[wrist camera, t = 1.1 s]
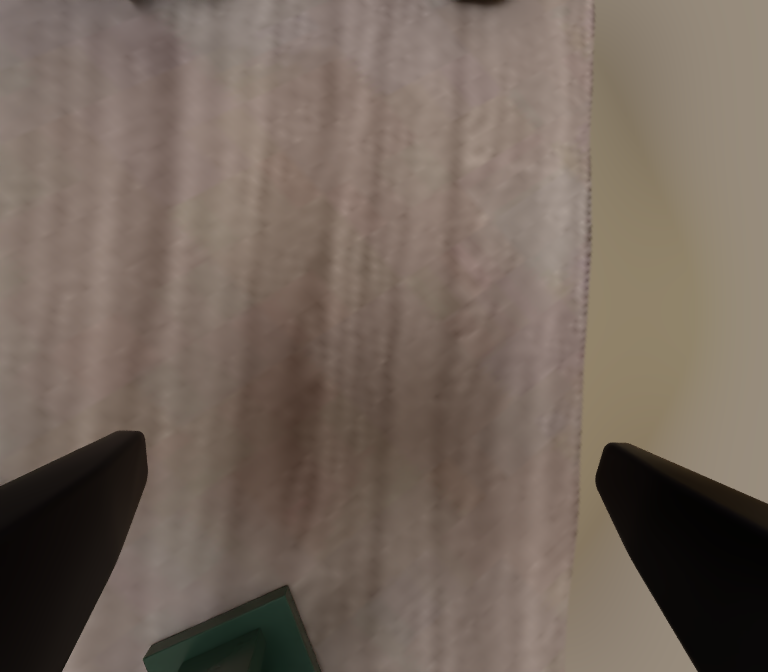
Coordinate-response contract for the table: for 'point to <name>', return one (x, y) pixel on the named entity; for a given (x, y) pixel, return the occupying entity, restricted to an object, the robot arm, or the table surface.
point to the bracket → (241, 641)
